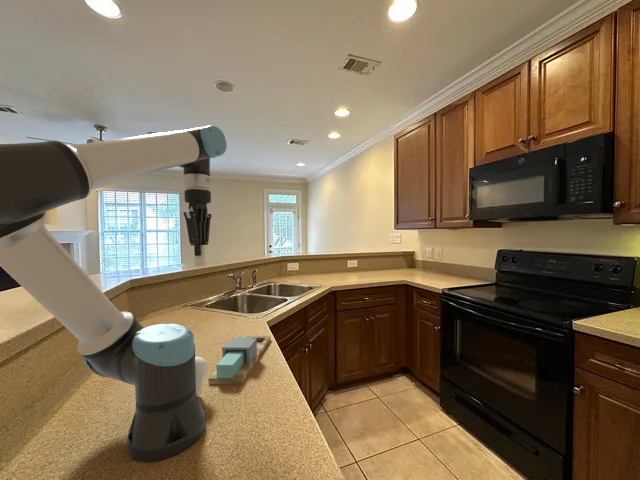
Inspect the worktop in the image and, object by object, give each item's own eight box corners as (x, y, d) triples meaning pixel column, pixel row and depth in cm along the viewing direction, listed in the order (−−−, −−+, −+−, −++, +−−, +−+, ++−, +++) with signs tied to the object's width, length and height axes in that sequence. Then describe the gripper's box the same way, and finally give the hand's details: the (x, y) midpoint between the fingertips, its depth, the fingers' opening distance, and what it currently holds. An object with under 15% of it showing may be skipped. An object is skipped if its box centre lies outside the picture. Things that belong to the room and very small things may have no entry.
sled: (233, 378, 83) (232, 361, 83) (216, 378, 84) (216, 360, 83) (253, 351, 102) (252, 337, 102) (239, 351, 103) (239, 336, 102)
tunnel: (249, 364, 92) (249, 347, 92) (222, 364, 93) (222, 347, 92) (256, 354, 100) (256, 338, 100) (232, 353, 101) (231, 338, 100)
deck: (241, 384, 83) (241, 379, 83) (208, 383, 84) (208, 378, 84) (270, 340, 117) (270, 336, 117) (246, 340, 118) (246, 336, 118)
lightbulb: (212, 397, 77) (211, 357, 77) (189, 407, 72) (188, 365, 72) (202, 388, 81) (201, 350, 81) (180, 398, 77) (178, 358, 76)
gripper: (198, 186, 81) (201, 268, 81) (218, 192, 94) (220, 263, 94) (173, 187, 81) (176, 269, 82) (196, 193, 94) (199, 263, 95)
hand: (200, 266), depth 88 cm, fingers closed
